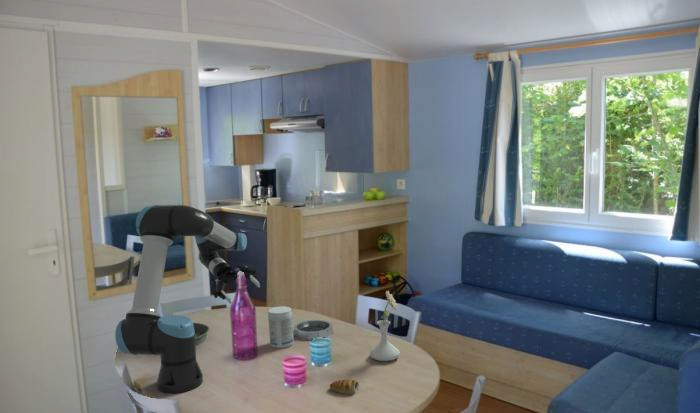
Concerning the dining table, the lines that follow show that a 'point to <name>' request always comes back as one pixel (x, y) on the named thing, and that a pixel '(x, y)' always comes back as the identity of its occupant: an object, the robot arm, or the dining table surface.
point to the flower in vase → (385, 337)
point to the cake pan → (200, 332)
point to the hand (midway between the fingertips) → (244, 292)
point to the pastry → (345, 386)
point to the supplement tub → (280, 327)
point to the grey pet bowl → (312, 329)
